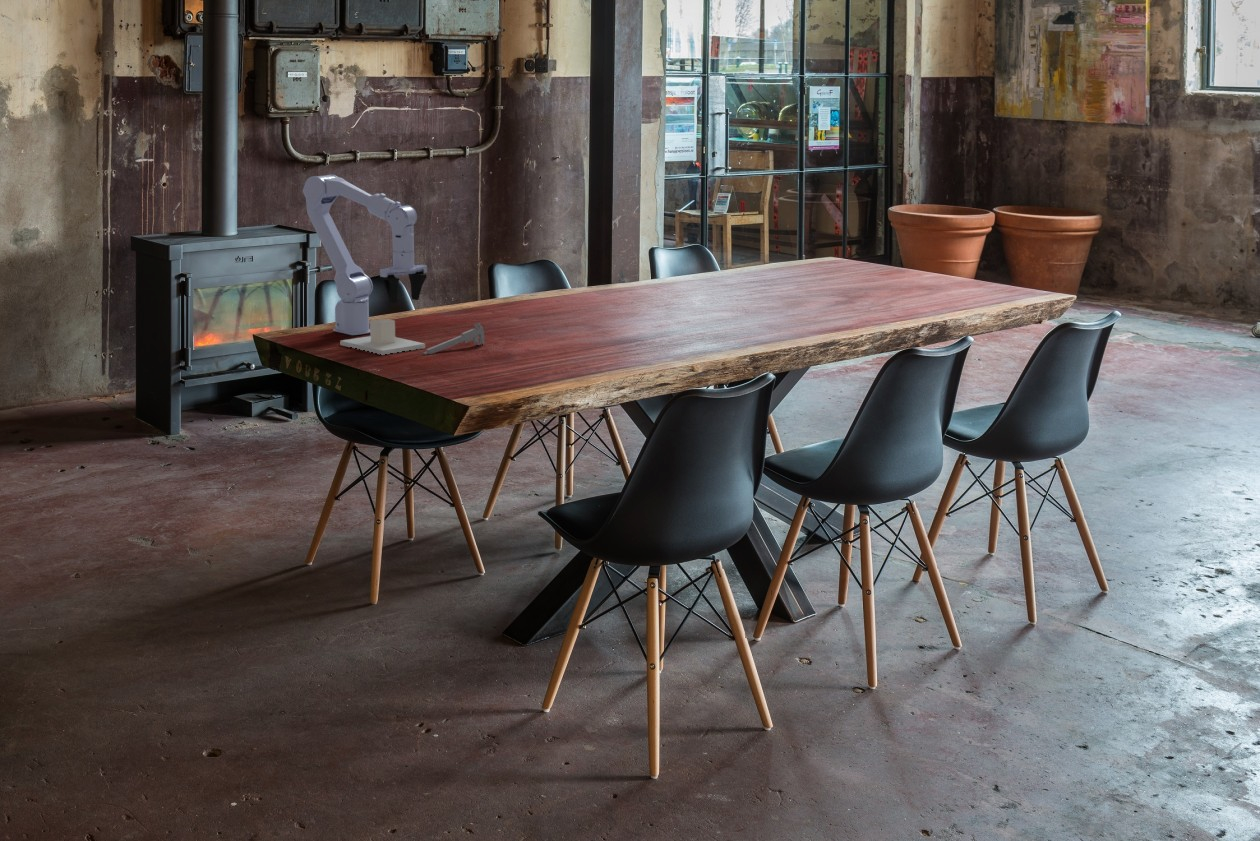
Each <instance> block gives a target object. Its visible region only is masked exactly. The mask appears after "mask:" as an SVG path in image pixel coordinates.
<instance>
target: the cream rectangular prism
mask: <svg viewBox="0 0 1260 841" xmlns="http://www.w3.org/2000/svg"><path fill="white" fill-rule="evenodd" d="M369 329H370V333H369V334H370V335H369V336H370V340H371V342H372V343H377V344H381V345H382V344H388V343H395V337H396V321H395V320H393V319H388V318H378V319H369Z"/></svg>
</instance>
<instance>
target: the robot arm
mask: <svg viewBox="0 0 1260 841" xmlns="http://www.w3.org/2000/svg"><path fill="white" fill-rule="evenodd" d="M302 194H303V195H304V197H305V206H306V213H307V216H308V218H309V221H310V222H311V224H312V226H313V228H314V230H315V232H316V235H317V236H318V238H319V240H320V242H321V244H322V247H323V248H324V250H325V252H326V254H327V256H328V259H329V260H330V262H331V264H332V266H333V267H334V270H335V274H334V279H333V281H334V282H335V285H336V292H337V296H338V297H339V298H340V300H338V301H337V303H336V305H335V307H334V314H335V315H334V316H335V317H334V319H335V320H334V324H335V328H333V329H332V331H333V332H336V333H341V334H345V335H348V336H358V335H365V334H366V335H367V334H370V313H369V312H370V310H369V304H370V303H369V302H370V301H369V299H370V295H371V293H372V292H373V289H374V285H373V281H372V279H371V277H370V276H368V275H367V274H366V273H365V272H364V270H363V268H361V267H360V266H359V265H357V264H356V263H355V262H354V260H353V258H352V255H351V254H350V252H349V250H348V248H347V246H346V244H345V241H344V240H343V238H342V236H341V234H340V232H339V230H338V228H337V226H336V224H335V222H334V220H333V218H332V216H331V214H330V211H331V207H332V204H333V203H334V202H335V201H336V199H337V198H338V197H339V196H341V197H344V198H346V199H348V200H350V201H353V202H355V203H358V204H360V205H362V206H365V207H366V209H367V211H368V213H370V214H371V215H373V216H376V217H377V218H379V219H381V220H383V221H385V222H388V224H389V226H390V228H391V236H392V238H391V239H392V266H391V267H387V268H381V269H379V277H380V281H381V282H382V283H383V285H384V288H385V290H386V292H387V296H388V300H389V302H390V303H392V304H396V303H397V302H398V286H399V282H400V278H399V277H396V276H402V275H404V276H405V275H407V276H408V277H409V278H408V279H409V282H410V291H411V294H410V295H411V299H412V300H414V301H418V300H420V295H421V292H422V287H423V285H424V283H425V281H426V280H427V277H428V276H427V273H428V265H426V264H417V265H416V264H415V237H414V236H415V234H414V231H415V230H414V228H415V227H414V225H415V224H416V223H417V221H418V212H416V209H415V208H413V207H412V206H411V205H409V204H405V205H402V204H401V202H400V201H394V200H392V199H390V198H388V197H387V194H385V193H384V192H382V193H375V194H371V193H368V192H367V191H365V190H364V189H361V188H359V187H357V186H355V185H354V184H352V183H350V182H349V181H347V180H346V179H344V178H342V177H340V176H337V175H336V174H331V173H329V174H326V175H318V176H317V175H313V176H310V177H308V178H307V179H306V181H305V182H304V186H303V189H302Z"/></svg>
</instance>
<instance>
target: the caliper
mask: <svg viewBox="0 0 1260 841" xmlns="http://www.w3.org/2000/svg"><path fill="white" fill-rule="evenodd" d="M473 325H474V328H471V329H469V330H467V331H464V332H461V333H460V335H458V336H455V337H453V338H452V339H449V340H446V341H444V342H441V343H439V344H436V345H434V346H431V347H429V348H427V349H426V351H424V352H423V353H422V354H423V355H425V356H427V355H431V354H436V353H439V352H440V351H441V352H442V351H443V350H445V349H448V348H450V347H452V346H456V345H458V344H459V343H464V344H468V342H471V341H472V342H473V343H474V345H475V346H477V345H479V346H480V345H482V344H483V345H484V344H485V330H484V327H483V326H482V325H481V323H480V322H477V324H476V323H474V324H473Z"/></svg>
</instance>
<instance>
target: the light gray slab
mask: <svg viewBox="0 0 1260 841" xmlns="http://www.w3.org/2000/svg"><path fill="white" fill-rule="evenodd" d="M339 341H340V342H339V343H340V346H342V347H346V348H347V347H348V348H350V347H352V348H351V349H355V348H357V349H356V350H359V349H360V351H363V350H365V351H364V352H367V351H369V352H368V353H371V352H373V353H372V354H375V353H377V355H380V354H381V355H380V356H386V355H385V354H387V355H391V354H390V353H393V354H397V352H399V353H403V352H402V351H405V352H410V351H409V350H411V351H417V350H422V349H425V348H426V343H424V342H420V341H415V340H410V339H405V338H403V337H397V336H395V343H388V344H382V345H381V344H377V343H372V342H371V340H370V335H369V336H362V337H355V338H350V339H343V340H339ZM416 349H417V350H416Z"/></svg>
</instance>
